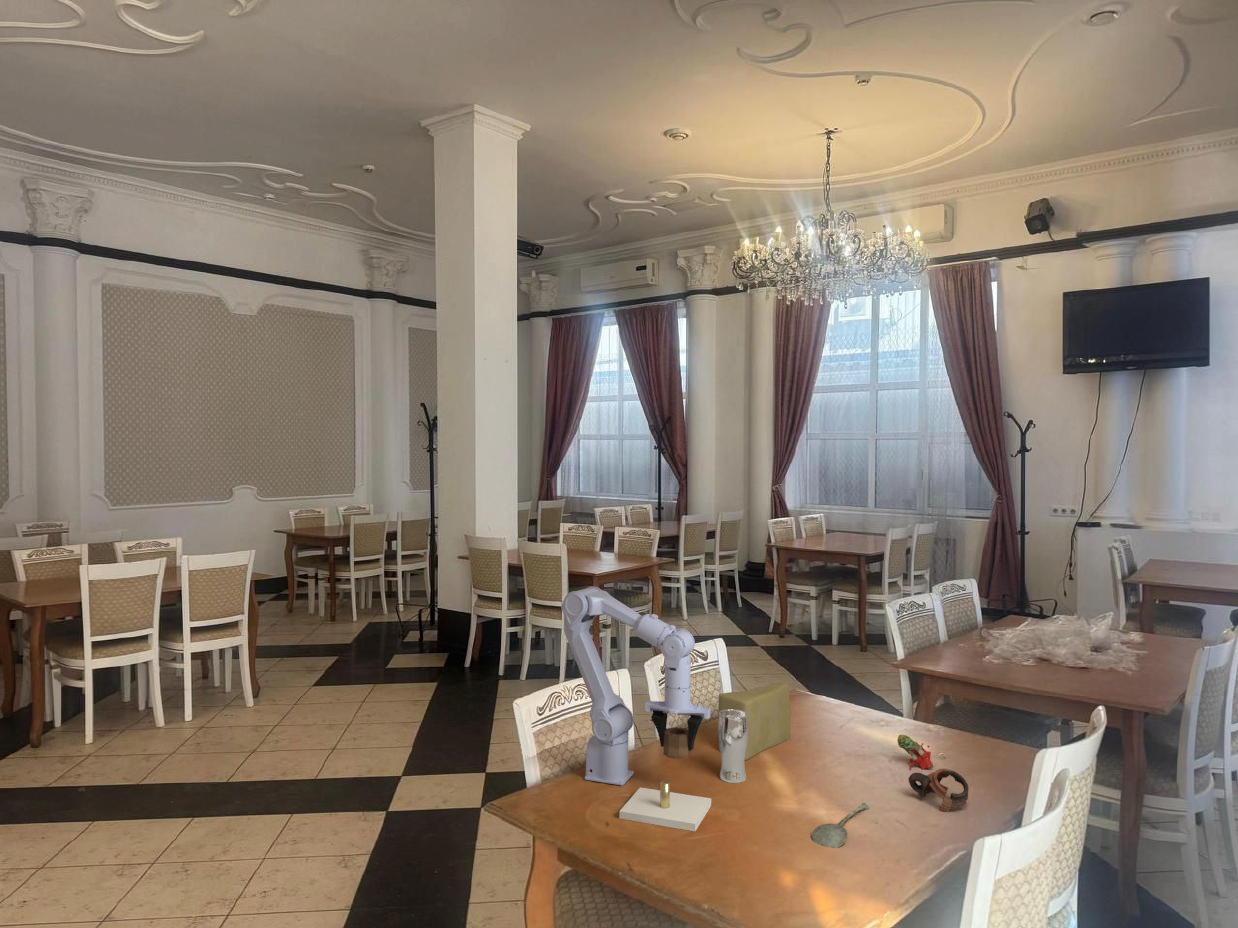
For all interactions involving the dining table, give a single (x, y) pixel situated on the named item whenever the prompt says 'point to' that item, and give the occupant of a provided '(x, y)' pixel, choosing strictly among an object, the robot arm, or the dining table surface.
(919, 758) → the figurine
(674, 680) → the robot arm
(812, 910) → the dining table surface
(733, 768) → the beer glass
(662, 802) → the brass rod
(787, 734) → the cheese
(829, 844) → the soupspoon
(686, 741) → the walnut bead
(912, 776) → the brown looped clamp
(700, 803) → the white rectangular board
